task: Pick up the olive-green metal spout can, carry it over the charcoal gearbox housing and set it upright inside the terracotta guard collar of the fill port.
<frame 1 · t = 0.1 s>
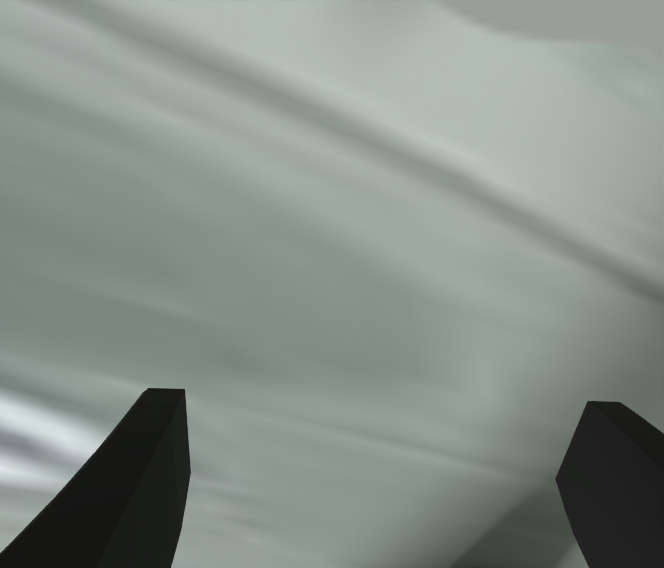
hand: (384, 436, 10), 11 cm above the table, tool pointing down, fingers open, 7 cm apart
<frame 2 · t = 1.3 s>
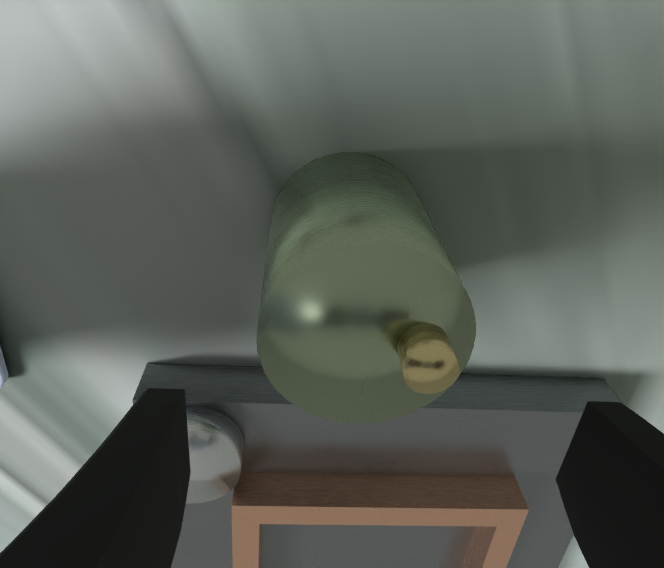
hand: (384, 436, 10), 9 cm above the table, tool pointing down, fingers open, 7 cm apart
gearbox: (359, 521, 26), on the table
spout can: (346, 226, 18), on the table
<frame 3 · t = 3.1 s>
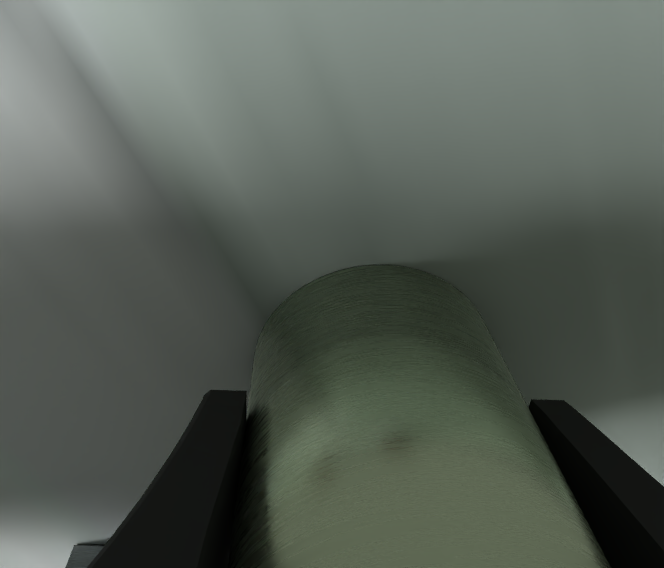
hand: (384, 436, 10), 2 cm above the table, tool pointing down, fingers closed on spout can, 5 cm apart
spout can: (372, 369, 11), on the table, touching gripper
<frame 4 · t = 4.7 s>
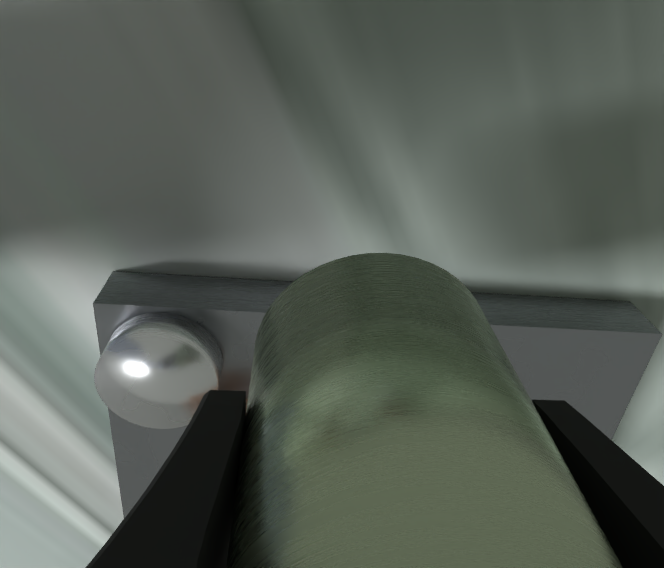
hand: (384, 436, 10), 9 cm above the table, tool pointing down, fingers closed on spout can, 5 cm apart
gearbox: (352, 469, 23), on the table
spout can: (371, 358, 12), point 7 cm above the table, touching gripper
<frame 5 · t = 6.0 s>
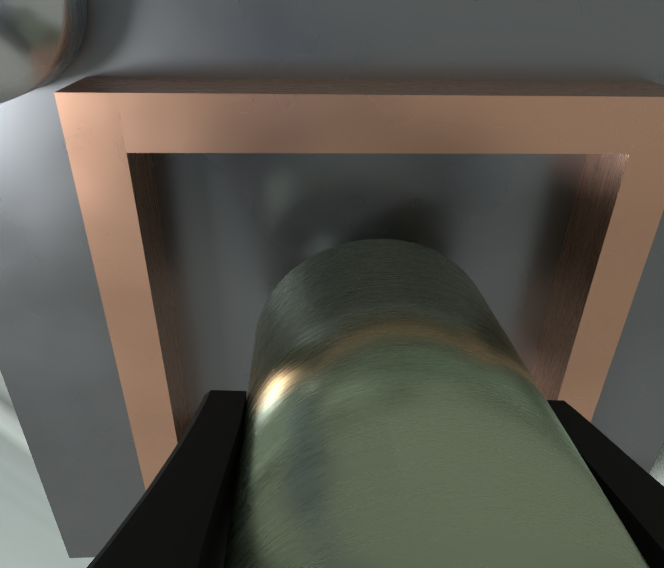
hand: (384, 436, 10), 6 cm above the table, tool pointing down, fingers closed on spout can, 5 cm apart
gearbox: (356, 277, 15), on the table
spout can: (372, 347, 12), point 4 cm above the table, touching gripper
when the fingers open (6 cm above the table, at t = 6.8 s): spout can drops 2 cm, resting on gearbox.
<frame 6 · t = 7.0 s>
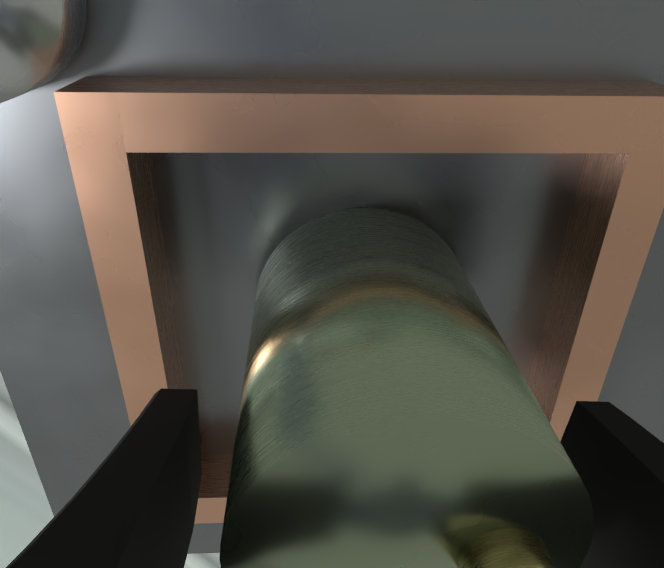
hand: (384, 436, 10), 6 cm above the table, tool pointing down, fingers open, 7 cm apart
gearbox: (356, 277, 15), on the table
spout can: (360, 305, 13), point 2 cm above the table, touching gearbox
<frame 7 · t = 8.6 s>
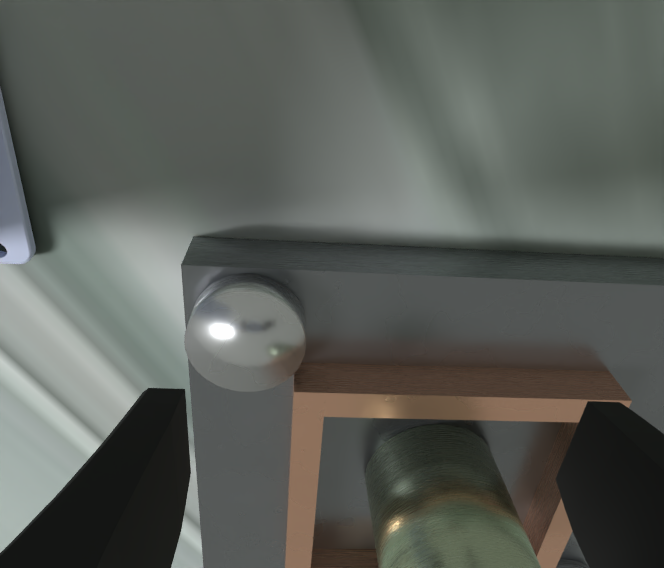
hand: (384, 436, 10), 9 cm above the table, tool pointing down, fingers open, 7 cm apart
gearbox: (420, 439, 23), on the table
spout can: (429, 472, 21), point 2 cm above the table, touching gearbox
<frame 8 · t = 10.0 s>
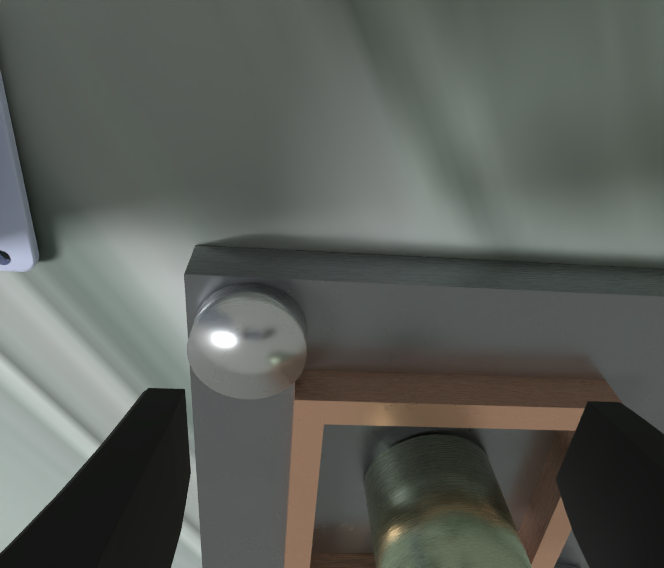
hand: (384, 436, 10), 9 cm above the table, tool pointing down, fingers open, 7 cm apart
gearbox: (418, 445, 23), on the table
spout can: (427, 479, 21), point 2 cm above the table, touching gearbox
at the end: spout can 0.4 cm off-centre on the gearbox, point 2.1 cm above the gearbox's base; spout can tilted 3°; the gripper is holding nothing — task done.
